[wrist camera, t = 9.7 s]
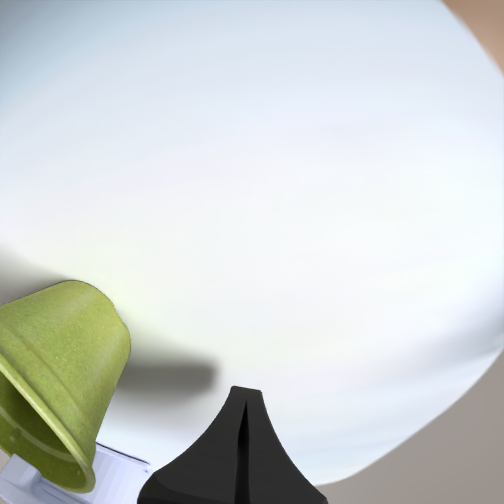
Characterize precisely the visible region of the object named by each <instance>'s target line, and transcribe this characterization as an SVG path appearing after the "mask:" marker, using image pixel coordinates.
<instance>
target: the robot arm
mask: <svg viewBox="0 0 504 504" xmlns="http://www.w3.org/2000/svg"><path fill="white" fill-rule="evenodd" d="M92 468H93V470H94V473H95V477H96V484H95V487H94V489H93V491H92V492H90V493H84V494H77V493H72V492H69V491H66V490H64V489H63V488H61V487H59V486H57V485H56V484H54V483H52V482H50V481H49V480H47V479H45V478H44V477H42V475H41V473H40V472H39V471H38V470H37V469H36V468H35V467H34V466H33V465H31V464H30V463H28V462H27V461H25V460H24V459H22V458H21V457H20V456H18V455H17V454H13V455H12V456H11V458H10V459H9V461H8V462H7V464H6V465H5V466H4V468H3V469H2V470H1V472H0V497H1V498H2V499H4V500H5V501H6V502H7V503H8V504H328V501H327V498H326V497H325V496H324V495H323V494H321V493H320V492H319V491H318V490H317V489H316V488H315V487H314V486H313V485H312V484H311V483H310V482H309V481H308V480H307V479H306V478H305V477H304V476H303V475H302V473H301V472H300V471H299V470H298V468H297V467H296V466H295V465H294V463H293V462H292V461H291V459H290V458H289V456H288V455H287V453H286V452H285V450H284V448H283V447H282V445H281V443H280V441H279V439H278V437H277V435H276V433H275V431H274V429H273V426H272V424H271V421H270V419H269V416H268V414H267V410H266V407H265V404H264V400H263V396H262V392H261V391H260V390H255V389H249V388H244V387H239V386H232V387H231V390H230V393H229V395H228V398H227V400H226V402H225V404H224V405H223V407H222V409H221V410H220V412H219V413H218V415H217V416H216V418H215V419H214V421H213V422H212V423H211V425H210V426H209V427H208V428H207V430H206V431H205V432H204V433H203V434H202V435H201V436H200V437H199V438H198V439H197V440H196V441H195V442H194V443H193V444H192V445H191V446H190V447H189V448H188V449H187V450H186V451H185V452H183V453H182V454H181V455H179V456H178V457H177V458H176V459H174V460H173V461H172V462H170V463H169V464H167V465H165V466H164V467H162V468H161V469H159V470H157V471H156V472H154V473H153V474H152V467H151V466H150V465H149V464H147V463H144V462H141V461H138V460H135V459H133V458H130V457H127V456H124V455H122V454H119V453H117V452H114V451H112V450H109V449H107V448H104V447H102V446H100V445H97V444H96V454H95V457H94V461H93V464H92Z"/></svg>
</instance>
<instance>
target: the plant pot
mask: <svg viewBox="0 0 504 504" xmlns="http://www.w3.org/2000/svg"><path fill="white" fill-rule="evenodd" d="M130 349H131V344H130V336H129V332H128V329H127V327H126V326H125V325H124V324H123V322H122V321H121V319H120V318H119V316H118V314H117V312H116V310H115V308H114V305H113V303H112V302H111V301H110V300H109V299H108V298H107V297H106V296H105V295H104V294H103V293H102V292H100V291H99V290H98V289H96V288H95V287H93V286H91V285H89V284H86V283H84V282H80V281H72V280H71V281H65V282H61V283H59V284H56V285H53V286H51V287H48V288H45V289H43V290H40V291H38V292H35V293H33V294H30V295H28V296H25V297H22V298H20V299H17V300H14V301H11V302H9V303H6V304H3V305H1V306H0V449H2V450H3V451H4V452H5V453H6V454H7V455H8V456H9V457H11V456H12V455H13V454H17V455H18V456H20V457H21V458H22V459H24V460H25V461H27V462H28V463H30V464H31V465H33V466H34V467H35V468H36V469H37V470H38V471H39V472H40V473H41V475H42V477H44V478H45V479H47V480H49V481H50V482H52V483H54V484H56V485H57V486H59V487H61V488H63V489H64V490H66V491H69V492H72V493H77V494H84V493H90V492H92V491H93V489H94V487H95V484H96V477H95V473H94V470H93V468H92V464H93V461H94V457H95V454H96V443H95V440H96V437H97V434H98V432H99V429H100V426H101V424H102V421H103V418H104V416H105V413H106V411H107V408H108V405H109V403H110V400H111V398H112V395H113V393H114V390H115V388H116V385H117V383H118V381H119V378H120V376H121V374H122V372H123V369H124V367H125V365H126V362H127V360H128V358H129V355H130Z"/></svg>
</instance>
